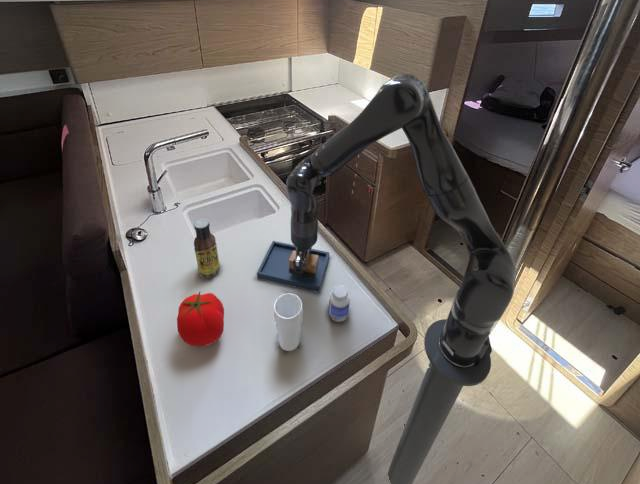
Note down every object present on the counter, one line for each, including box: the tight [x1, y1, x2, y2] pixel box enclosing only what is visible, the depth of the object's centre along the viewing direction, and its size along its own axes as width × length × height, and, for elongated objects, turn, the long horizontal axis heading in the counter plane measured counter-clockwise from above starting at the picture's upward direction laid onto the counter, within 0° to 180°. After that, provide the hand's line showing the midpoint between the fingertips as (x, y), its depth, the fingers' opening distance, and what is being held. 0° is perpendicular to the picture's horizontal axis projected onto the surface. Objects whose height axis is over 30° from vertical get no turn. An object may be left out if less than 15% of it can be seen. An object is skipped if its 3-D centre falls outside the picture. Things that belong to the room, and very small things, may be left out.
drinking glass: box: [273, 292, 304, 352], centre depth 79 cm, size 7×7×15 cm
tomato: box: [176, 291, 225, 347], centre depth 81 cm, size 12×12×13 cm
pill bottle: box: [328, 284, 351, 323], centre depth 87 cm, size 5×5×10 cm
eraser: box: [289, 250, 319, 278], centre depth 97 cm, size 8×5×5 cm, turn 76°
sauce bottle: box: [193, 218, 221, 279], centre depth 96 cm, size 6×6×20 cm
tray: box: [256, 240, 330, 293], centre depth 102 cm, size 20×14×2 cm
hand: (304, 268), depth 98 cm, fingers closed on eraser, 5 cm apart
